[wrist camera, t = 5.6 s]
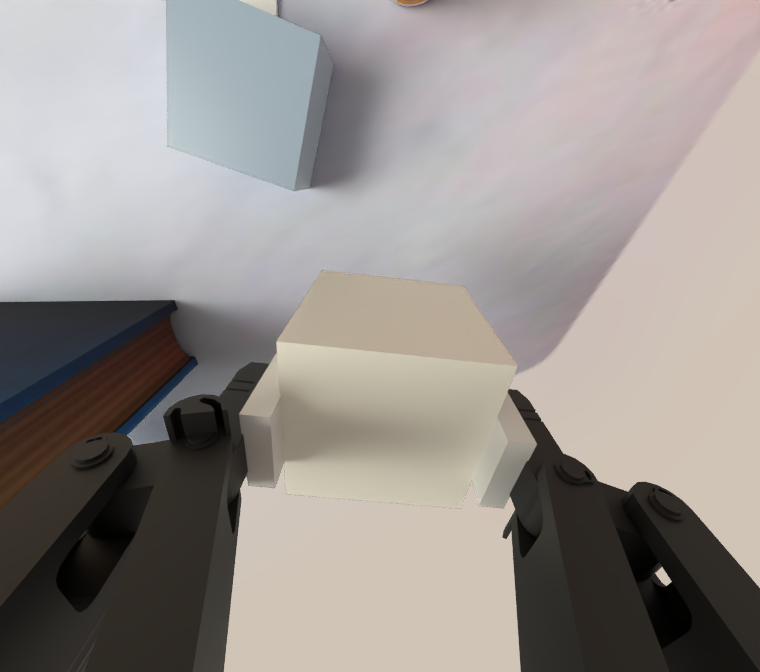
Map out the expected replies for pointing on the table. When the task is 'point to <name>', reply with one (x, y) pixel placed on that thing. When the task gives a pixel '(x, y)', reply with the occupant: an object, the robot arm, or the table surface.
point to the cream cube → (388, 390)
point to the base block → (245, 89)
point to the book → (78, 377)
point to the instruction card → (264, 5)
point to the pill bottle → (409, 2)
